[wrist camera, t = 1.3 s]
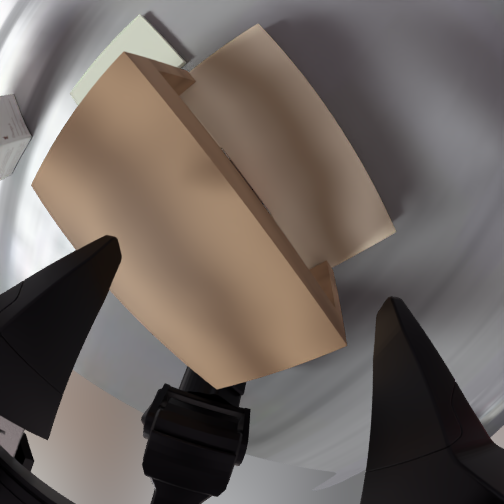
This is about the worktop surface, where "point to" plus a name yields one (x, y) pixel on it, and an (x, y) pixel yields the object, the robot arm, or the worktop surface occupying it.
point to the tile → (132, 41)
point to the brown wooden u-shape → (185, 230)
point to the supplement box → (11, 135)
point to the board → (288, 149)
